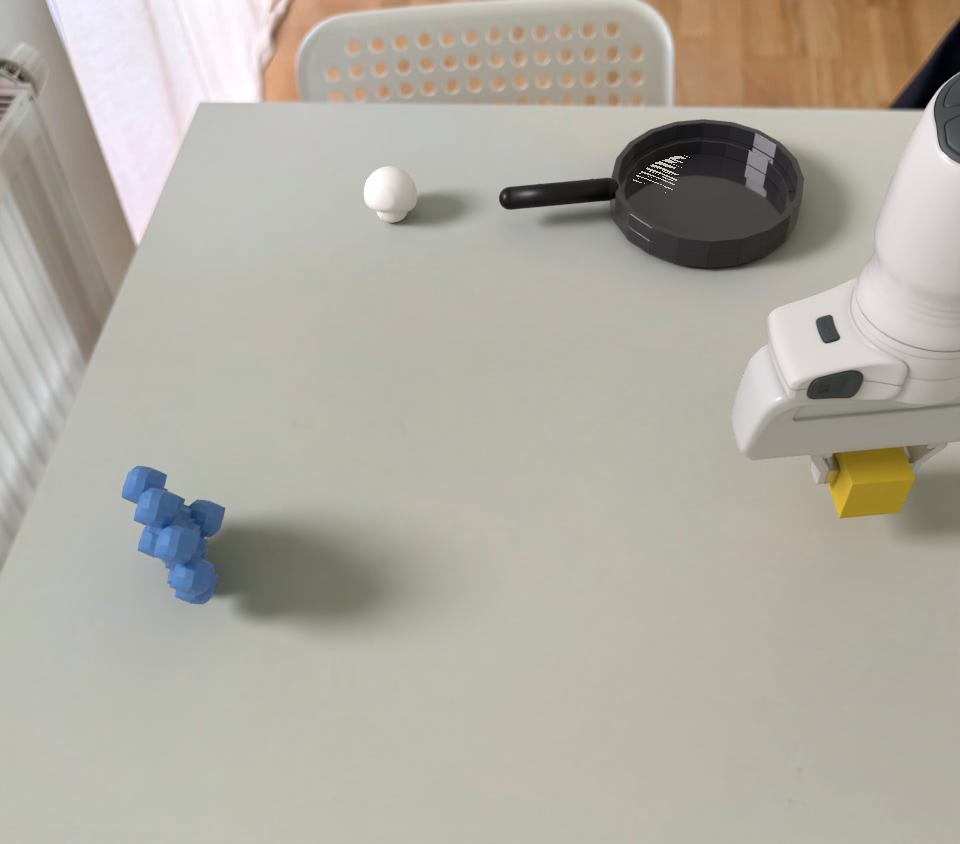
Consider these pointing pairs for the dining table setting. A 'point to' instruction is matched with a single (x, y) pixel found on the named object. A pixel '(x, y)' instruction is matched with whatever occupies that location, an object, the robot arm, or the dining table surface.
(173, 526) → the grapes
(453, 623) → the dining table surface
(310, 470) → the dining table surface
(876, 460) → the yellow block
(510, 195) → the pan handle
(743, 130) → the pan
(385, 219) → the mushroom
